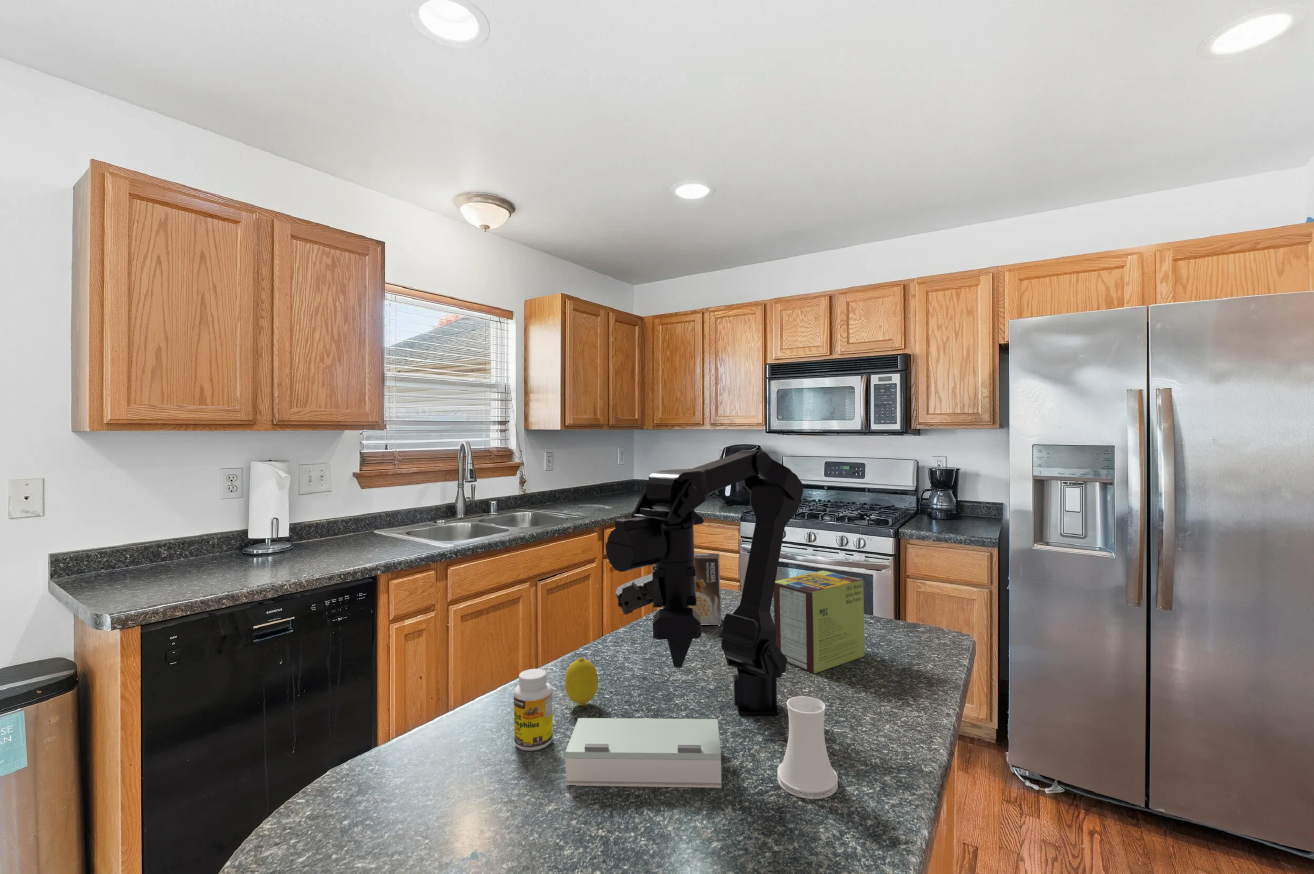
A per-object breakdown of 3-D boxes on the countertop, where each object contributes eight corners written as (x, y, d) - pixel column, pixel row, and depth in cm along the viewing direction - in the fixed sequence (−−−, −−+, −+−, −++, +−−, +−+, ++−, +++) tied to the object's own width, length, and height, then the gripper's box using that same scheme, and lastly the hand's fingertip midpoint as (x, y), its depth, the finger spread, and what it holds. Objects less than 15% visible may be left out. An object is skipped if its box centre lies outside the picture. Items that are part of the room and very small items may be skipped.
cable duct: (718, 749, 84) (717, 725, 84) (721, 787, 75) (721, 760, 75) (579, 748, 85) (578, 724, 85) (566, 785, 76) (565, 758, 76)
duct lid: (717, 724, 84) (717, 714, 84) (721, 759, 75) (720, 748, 75) (578, 723, 85) (578, 713, 85) (565, 757, 76) (565, 747, 76)
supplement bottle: (507, 749, 85) (505, 679, 85) (526, 731, 91) (525, 664, 91) (541, 755, 84) (540, 683, 84) (559, 735, 89) (558, 668, 89)
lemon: (593, 714, 96) (592, 665, 96) (560, 711, 97) (559, 663, 97) (602, 699, 101) (601, 652, 101) (572, 697, 102) (571, 650, 102)
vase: (828, 806, 71) (826, 723, 71) (768, 787, 75) (767, 709, 75) (844, 775, 77) (843, 699, 77) (788, 759, 81) (787, 687, 81)
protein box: (866, 656, 118) (864, 578, 118) (814, 674, 110) (812, 591, 110) (824, 641, 127) (823, 569, 127) (773, 657, 118) (771, 580, 118)
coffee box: (722, 618, 144) (721, 552, 144) (720, 627, 138) (719, 558, 138) (684, 617, 146) (683, 552, 145) (681, 625, 139) (680, 557, 139)
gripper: (623, 546, 94) (626, 644, 94) (612, 576, 75) (616, 697, 76) (693, 545, 94) (696, 642, 94) (699, 574, 75) (703, 695, 75)
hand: (677, 666), depth 85 cm, fingers closed
